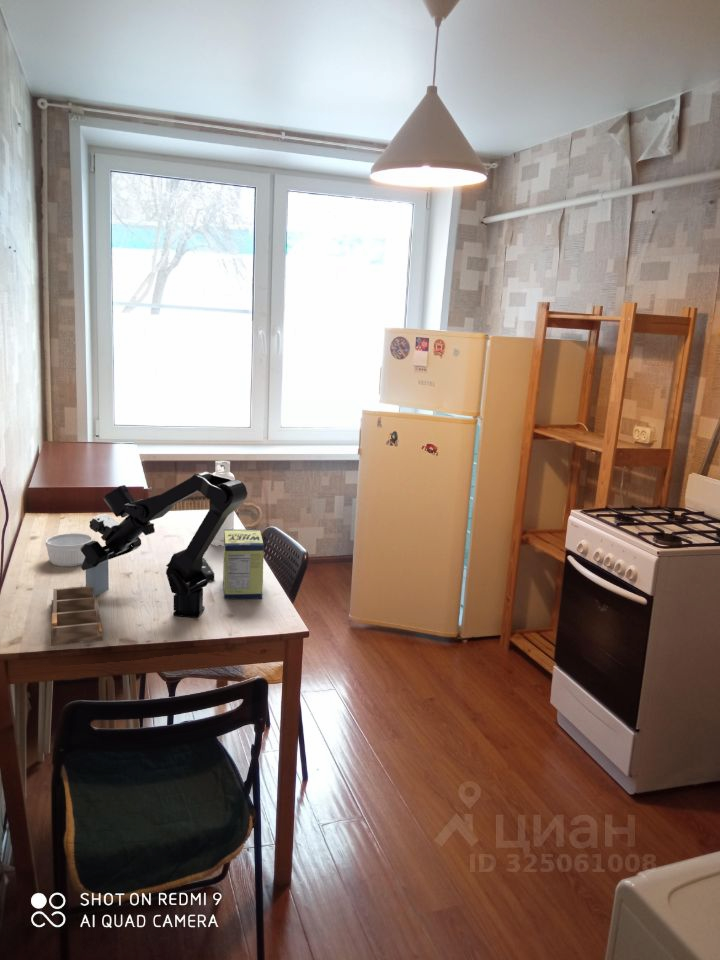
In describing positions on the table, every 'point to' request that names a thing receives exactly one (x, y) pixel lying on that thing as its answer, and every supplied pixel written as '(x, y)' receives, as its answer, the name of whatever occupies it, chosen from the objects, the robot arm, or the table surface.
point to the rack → (75, 616)
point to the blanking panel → (98, 578)
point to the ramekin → (67, 548)
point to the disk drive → (207, 571)
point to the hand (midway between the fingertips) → (94, 563)
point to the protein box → (243, 564)
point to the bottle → (229, 520)
